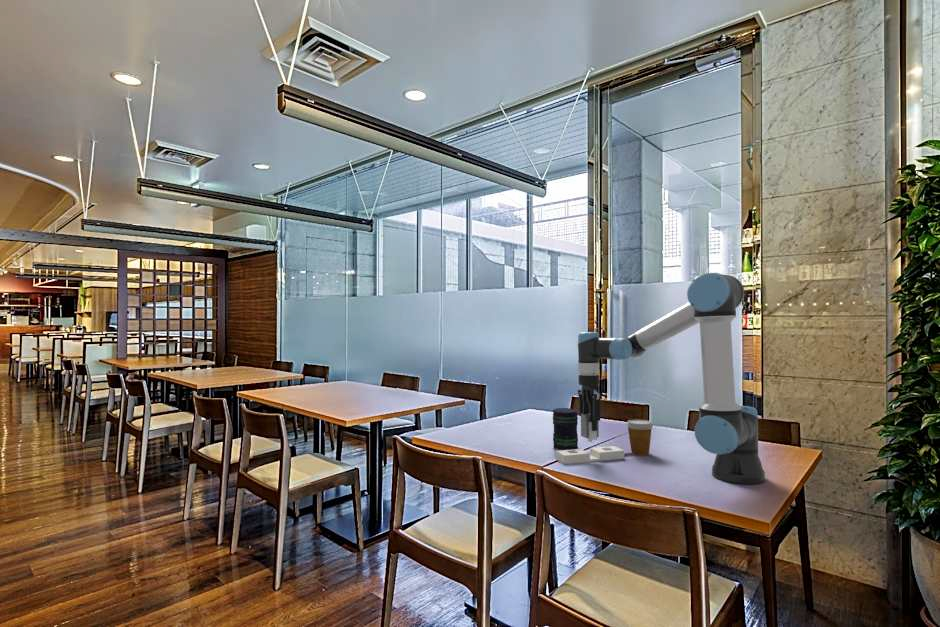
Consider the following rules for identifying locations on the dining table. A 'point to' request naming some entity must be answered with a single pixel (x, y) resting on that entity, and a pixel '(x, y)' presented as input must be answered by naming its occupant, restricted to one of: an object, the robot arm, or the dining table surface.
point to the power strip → (590, 455)
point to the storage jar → (565, 429)
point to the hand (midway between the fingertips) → (589, 438)
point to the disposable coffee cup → (639, 436)
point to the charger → (587, 426)
